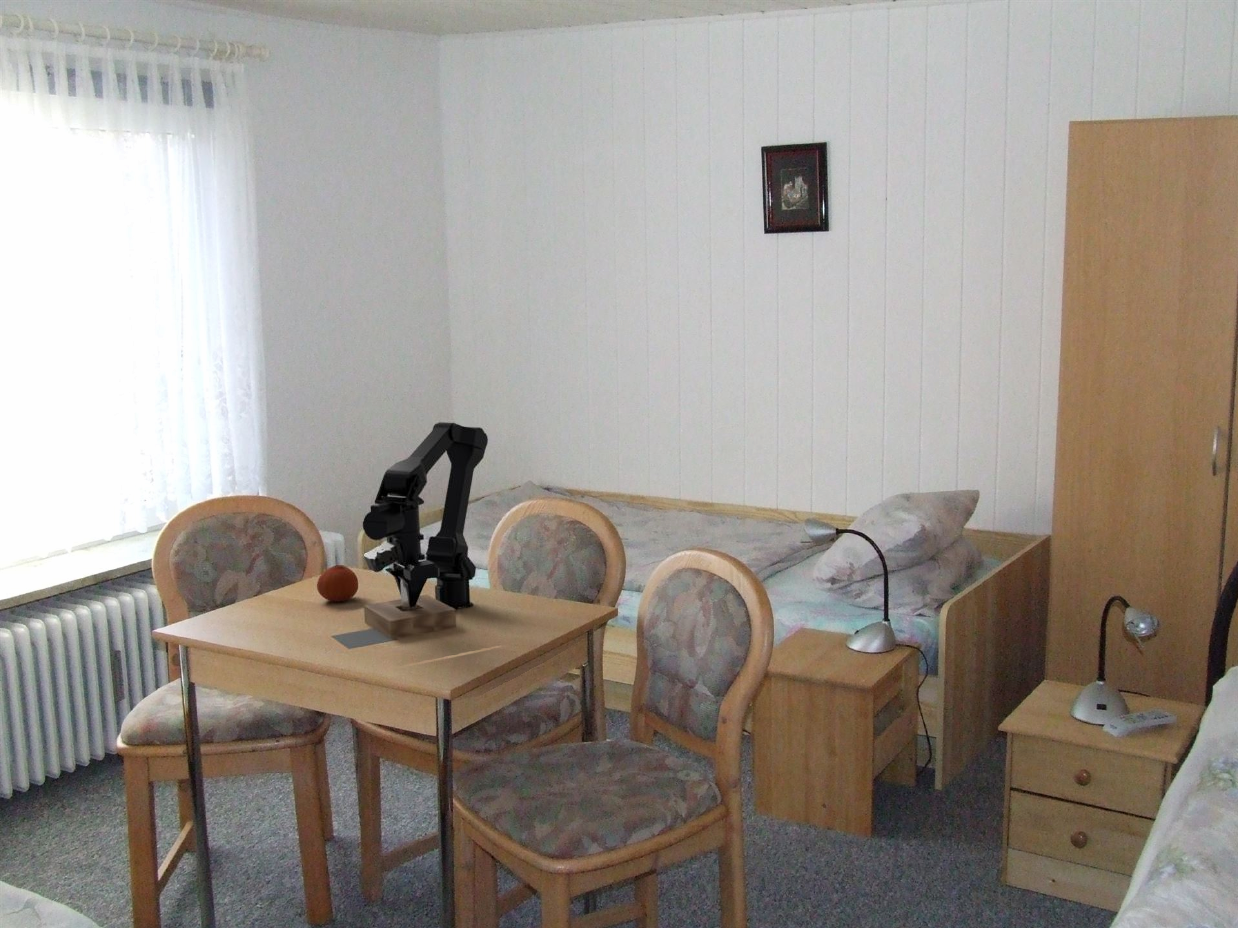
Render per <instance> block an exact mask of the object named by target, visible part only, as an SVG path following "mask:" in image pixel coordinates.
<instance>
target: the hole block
mask: <svg viewBox="0 0 1238 928" xmlns="http://www.w3.org/2000/svg"><path fill="white" fill-rule="evenodd" d="M363 613H364V623H365V624H367V626H369V627H371V629H372V628H374V629H376V630H378V631H379V632H381V633H382V634H384V635H386V636H387V637H389V638H390V639H394V638H396V639H399V638H405V637H410V636H415V635H420V634H426V633H431V632H435V631H442V630H446V629H447V630H448V629H453V628H456V627H457V619H456V618H457V616H456V609H454V608H452V607H450V606H448V605H446V604H444V603H442V602H440V601H438V600H436V599H435V597H432V596H431V595H430V594H429V595H428V594H423V595H420V596H419V598H418V601H417V609H416V610H410V611H405V612H403V611H402V602H401V598H399V599H393V600H388V601H387V600H386V601H382V602H377V603H376V602H375V603H371V604H364V605H363Z"/></svg>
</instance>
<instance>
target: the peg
mask: <svg viewBox="0 0 1238 928" xmlns="http://www.w3.org/2000/svg"><path fill="white" fill-rule="evenodd" d="M400 583H401V595H400V597H401V598H400V599H401V602H402V611H403V612H405V611H410V610H416V609H417V603H416V605H415V606H414V607H410V606H409V601H408V596H407V591H406V585H405V582H404V581H402V580H401V579H400Z"/></svg>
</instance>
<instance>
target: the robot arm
mask: <svg viewBox="0 0 1238 928" xmlns="http://www.w3.org/2000/svg"><path fill="white" fill-rule="evenodd" d="M488 441H489V438H488V435H487V433H486V432H485V431H484V429H483V428H482V427H478V426H463V425H460V424H459V423H456V422H441V421H439V422H438V423H437V422H436V423H435V424H434V425H433V427H432V430H431V431H430V433H428V435H427V436H426V437H425V438H424V439H423V441H421V443H420V444H419V445H418V446H417V448H416V449H415V450H414V451H413V452H412V453H411V454H410V455H409V456H408V457H407V458H406V459H403V460H400V461H397V462H395V463H394V464H393V465H392V466H390V467H388V468H387V470H386V471H385V472H384V475H383V477H382V479H381V482H380V485H379V488H378V491H377V493H376V497H375V499H374V504H371V505H370V511H369V512H368V513H366V514H365V516H364V518H363V521H362V527H363V528H362V530H363V532H364V533H365V535H366V536H367V537H368V538H369V539H370V540H374V541H381V540H383V539H386V542H385V543H383V544H381V545H378V546H376V547H375V548H374V547H373V549H371V550H369V551H367V552H366V553H364V554H363V558H364V560H365V563H366V564H367V567H368V569H369V570H372V571H373V572H374V573H379V572H382V571H383V570H385V572H387V574H390V575H391V576H392V577H393V578H394V581H395V583H396V585H397V588H398V591H399V595H400V596H401V583H400V579H401V580H402V581H404V582H405V585H406V591H407V596H408V601H409V606H410V607H414V606H415V605H416V603H417V601H418V598H419V596H421V594H422V591H423V589H424V587H425V585H426V583H427V581H428V580H430V579H436V585H435V586H434V595H435V597H434V599H436V600H438V601H440V602H442V603H444V604H446V605H448V606H450V607H452V608H454V609H455V610H457V609H462V608H463V609H464V608H467V607H473V606H474V602H472V601H471V593H470V591H471V590H470V581H472V580H474V578H475V577H476V574H477V573H476V571H477V567H476V565H475V564H474V562H473V561H472V559H470V557H469V552H468V551H469V545H468V543H467V541H466V539H465V536H464V530H465V525H466V518H467V512H468V508H469V507H468V506H469V500H470V496H471V489H472V483H473V477H474V472H475V469H476V468H477V466H478V465H479V464H480V462H481V461H482V460H483V459H484V456H485V453H486V449H487V447H488ZM445 453H446V454H447V457H448V460H449V462H450V471H449V476H448V483H447V488H446V495H445V500H444V506H443V512H442V516H441V517H442V518H441V523H440V529H439V531H438V532H437V533H436V534H435V536H432V535H430V537H429V538H428V542H427V544H428V545H427V549H426V552H425V554H424V553H422V550H421V549H422V547H421V541H424V540H425V535H424V534H422V533H421V527H420V522H421V521H420V506H421V505H424V504H425V500H424V499H423V498H421V497H420V494H421V493H422V491H423V489H424V488H425V486H426V485H427V483H428V478H427V476H428V473H429V472H430V470H431V469H432V468H433V467H434V466H435V465H436V464H437V462H438V461H439V460H440V459H441V458H442V456H443V455H444V454H445ZM425 555H426V556H425ZM384 568H385V569H384Z"/></svg>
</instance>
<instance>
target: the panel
mask: <svg viewBox="0 0 1238 928" xmlns="http://www.w3.org/2000/svg"><path fill="white" fill-rule="evenodd" d="M331 638H332V639H334V640H336V641H337V642H338V643H340V644H341V645H342V646H344V647H346V648H347V649H348V650H350V649H355V648H360V647H365V646H372V645H377V644H381V643H387V642H393V641H397V640H399V638H394V639H390V638H389V637H387V636H386V635H384V634H382V633H381V632H379V631H378V630H376V629H374V628H372V627H371V628H369V629H361V630H357V631H351V632H346V633H340V634H335V635H331Z"/></svg>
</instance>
